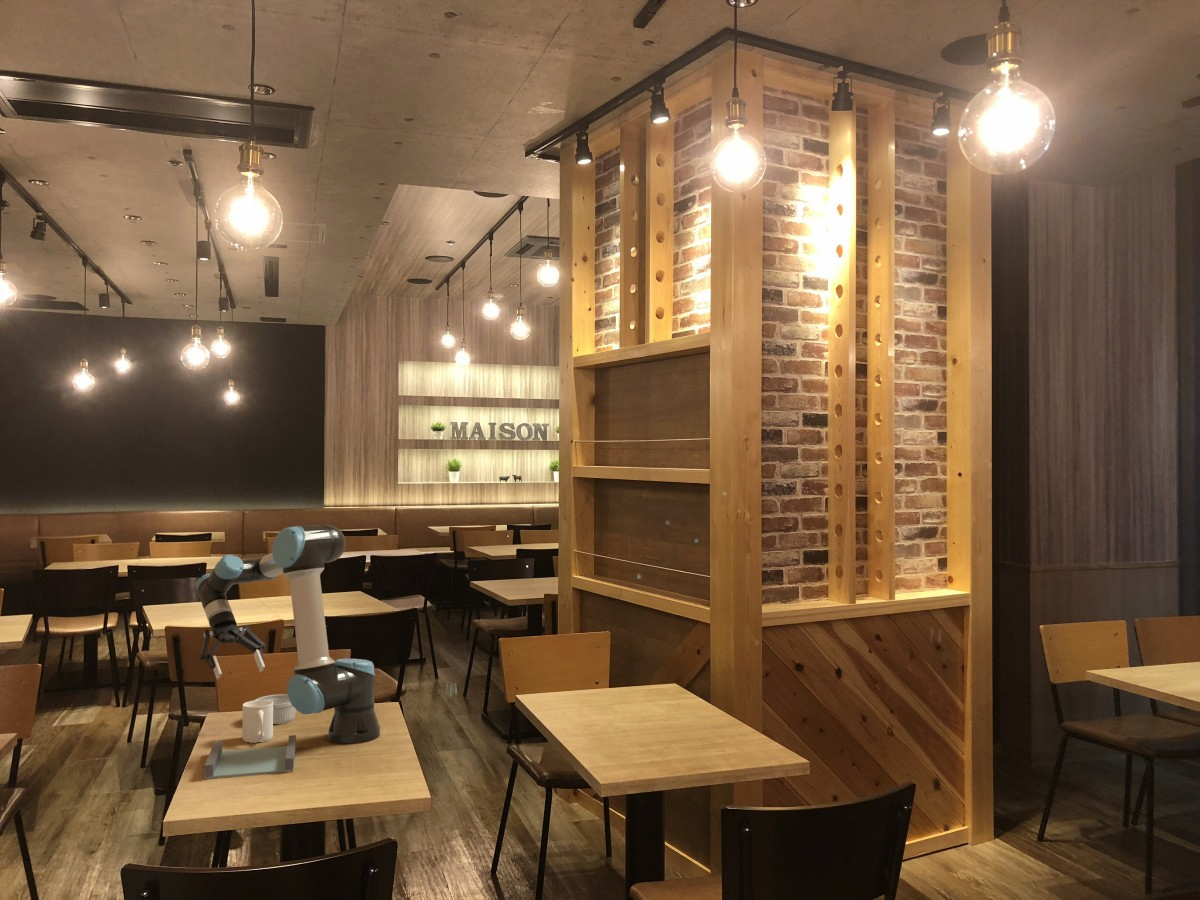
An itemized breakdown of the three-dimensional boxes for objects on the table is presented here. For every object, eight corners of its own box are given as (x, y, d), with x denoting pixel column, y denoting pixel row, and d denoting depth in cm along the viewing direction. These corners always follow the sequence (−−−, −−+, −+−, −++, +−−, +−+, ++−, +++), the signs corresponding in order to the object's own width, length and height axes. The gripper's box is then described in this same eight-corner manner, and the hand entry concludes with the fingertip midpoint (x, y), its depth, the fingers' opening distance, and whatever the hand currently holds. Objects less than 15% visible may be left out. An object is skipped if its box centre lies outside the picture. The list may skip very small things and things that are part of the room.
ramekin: (253, 728, 289) (254, 706, 290) (253, 717, 302) (253, 696, 302) (298, 724, 294) (298, 702, 294) (296, 713, 306) (296, 692, 307)
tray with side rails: (214, 754, 264) (214, 741, 264) (296, 747, 270) (296, 735, 270) (204, 779, 242) (204, 765, 242) (293, 771, 249) (293, 758, 249)
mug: (245, 748, 269) (246, 711, 269) (240, 737, 280) (240, 701, 280) (276, 744, 273) (277, 707, 273) (270, 733, 284) (270, 698, 284)
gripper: (254, 620, 306) (275, 673, 295) (177, 629, 288) (196, 686, 277) (262, 605, 302) (283, 659, 291) (184, 614, 284) (204, 671, 273)
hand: (241, 672), depth 284 cm, fingers open, 13 cm apart
